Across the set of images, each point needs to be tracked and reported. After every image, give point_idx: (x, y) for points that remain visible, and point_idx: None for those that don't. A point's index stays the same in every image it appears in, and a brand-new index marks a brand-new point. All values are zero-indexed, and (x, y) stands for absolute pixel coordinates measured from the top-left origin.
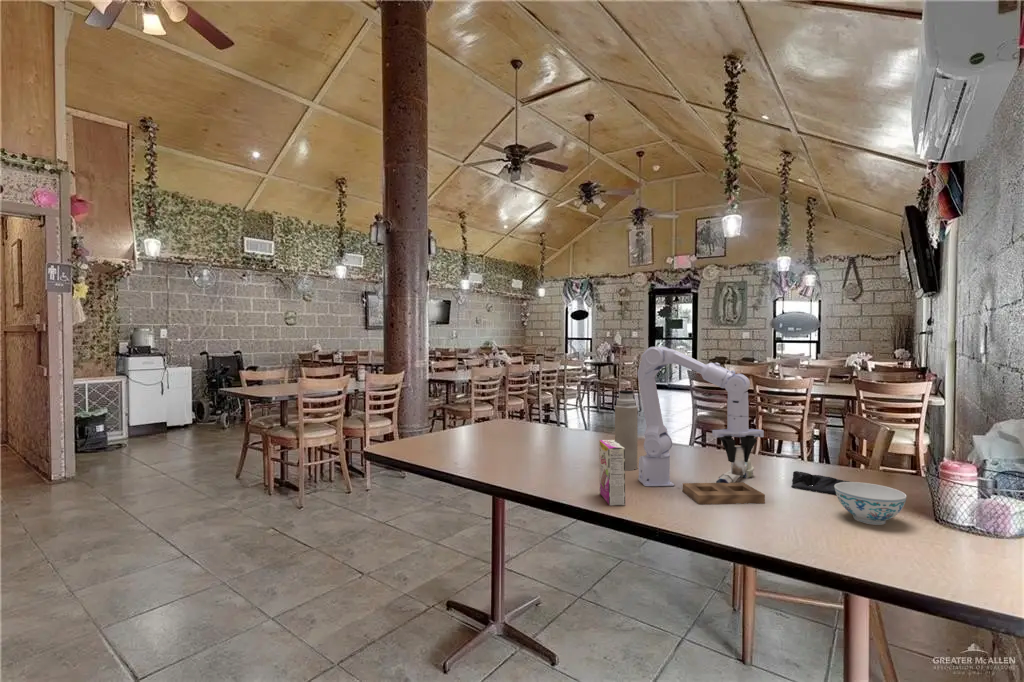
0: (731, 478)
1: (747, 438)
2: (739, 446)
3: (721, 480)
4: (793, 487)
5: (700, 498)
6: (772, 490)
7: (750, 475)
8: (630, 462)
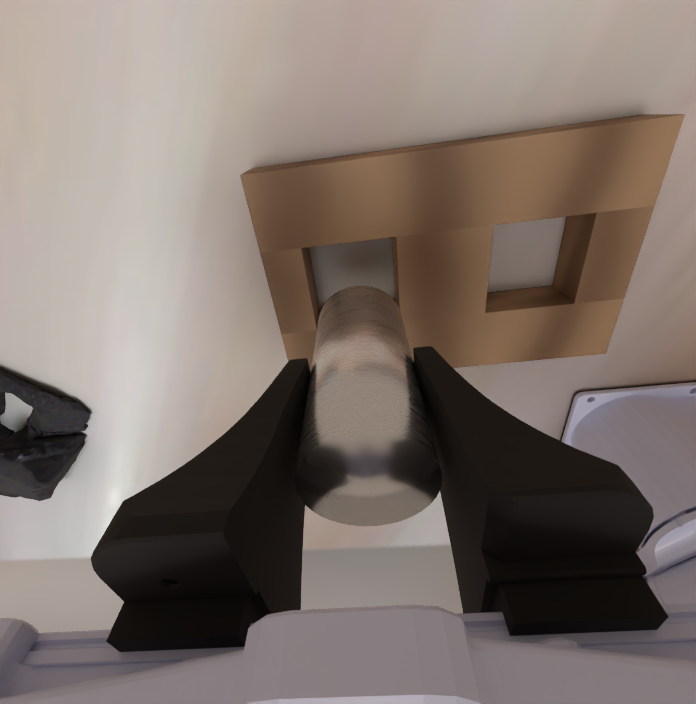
0: None
1: (243, 570)
2: (349, 487)
3: None
4: (83, 406)
5: (656, 116)
6: (173, 370)
7: None
8: None
